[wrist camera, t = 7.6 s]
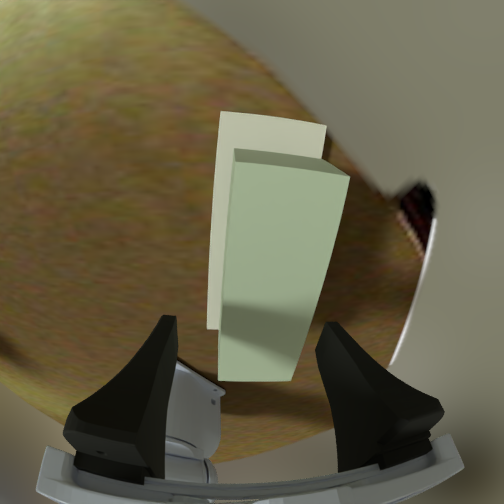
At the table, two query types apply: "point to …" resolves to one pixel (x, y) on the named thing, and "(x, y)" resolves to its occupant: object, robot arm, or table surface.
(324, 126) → the peg stand
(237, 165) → the pale green block
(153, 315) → the table surface
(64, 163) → the table surface
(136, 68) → the table surface
